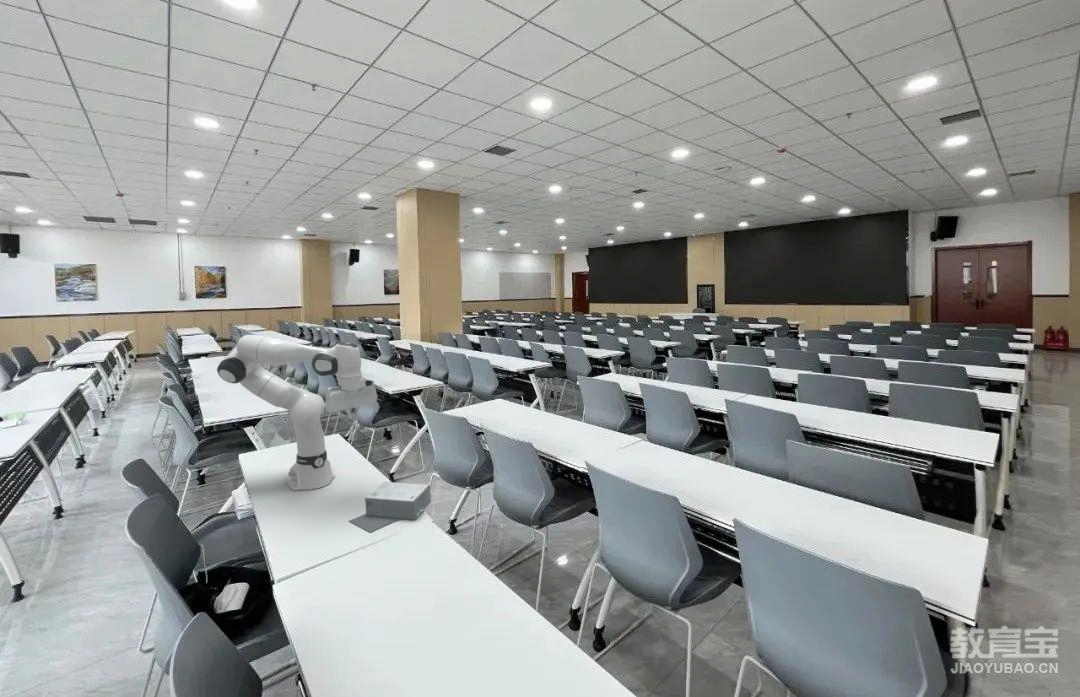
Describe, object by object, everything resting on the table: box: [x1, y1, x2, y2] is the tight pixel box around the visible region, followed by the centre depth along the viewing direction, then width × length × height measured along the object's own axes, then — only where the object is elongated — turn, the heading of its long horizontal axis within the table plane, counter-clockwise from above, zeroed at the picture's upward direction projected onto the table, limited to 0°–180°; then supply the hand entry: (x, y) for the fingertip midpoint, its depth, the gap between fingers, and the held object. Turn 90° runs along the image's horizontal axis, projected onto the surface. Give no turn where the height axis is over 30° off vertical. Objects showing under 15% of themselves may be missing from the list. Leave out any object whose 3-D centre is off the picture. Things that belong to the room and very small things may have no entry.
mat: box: [348, 513, 401, 534], centre depth 192 cm, size 14×22×1 cm, turn 141°
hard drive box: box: [364, 481, 432, 520], centre depth 196 cm, size 16×8×20 cm
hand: (353, 418), depth 198 cm, fingers closed
